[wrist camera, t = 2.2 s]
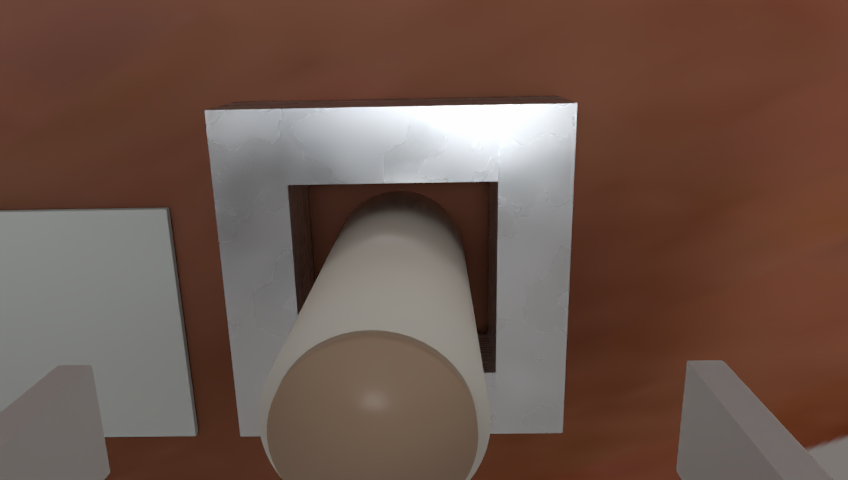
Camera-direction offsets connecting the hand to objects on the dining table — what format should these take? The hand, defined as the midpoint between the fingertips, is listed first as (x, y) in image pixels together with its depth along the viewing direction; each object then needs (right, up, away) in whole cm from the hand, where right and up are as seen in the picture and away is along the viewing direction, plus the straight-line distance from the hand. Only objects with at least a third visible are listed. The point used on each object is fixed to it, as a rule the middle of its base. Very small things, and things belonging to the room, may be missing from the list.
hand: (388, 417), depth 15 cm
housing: (0, +3, +12) cm, 12 cm away
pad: (-14, 0, +13) cm, 19 cm away
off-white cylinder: (0, +3, +12) cm, 12 cm away
